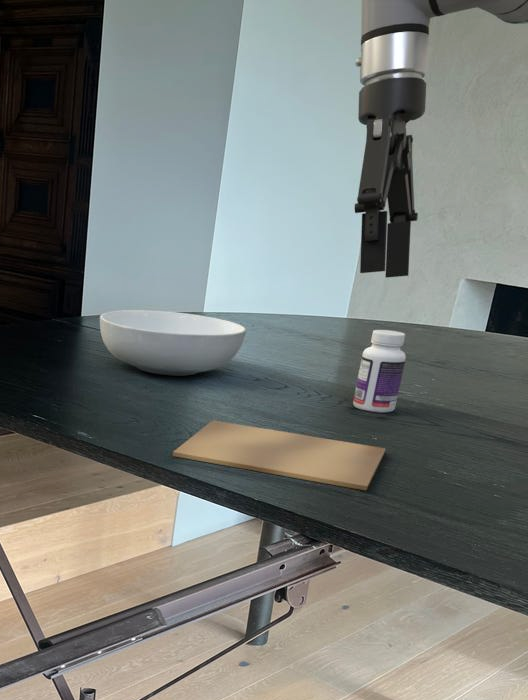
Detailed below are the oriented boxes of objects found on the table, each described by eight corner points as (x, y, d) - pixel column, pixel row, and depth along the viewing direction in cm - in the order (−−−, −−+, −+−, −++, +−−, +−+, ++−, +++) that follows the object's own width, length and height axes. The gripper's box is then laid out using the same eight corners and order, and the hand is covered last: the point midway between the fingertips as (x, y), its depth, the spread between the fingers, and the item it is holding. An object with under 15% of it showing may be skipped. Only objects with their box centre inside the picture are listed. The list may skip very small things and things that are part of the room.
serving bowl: (267, 384, 140) (275, 334, 136) (134, 387, 132) (139, 335, 129) (194, 354, 157) (200, 308, 153) (73, 355, 149) (76, 308, 146)
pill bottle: (399, 408, 131) (416, 333, 127) (388, 415, 127) (405, 337, 123) (358, 401, 134) (374, 326, 129) (346, 408, 130) (362, 331, 125)
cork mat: (385, 452, 111) (386, 448, 111) (366, 491, 98) (367, 486, 97) (211, 424, 117) (212, 419, 117) (172, 456, 104) (173, 451, 104)
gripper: (383, 107, 129) (377, 280, 134) (332, 66, 108) (327, 272, 114) (444, 97, 125) (435, 275, 131) (404, 52, 104) (395, 266, 110)
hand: (385, 274), depth 122 cm, fingers open, 13 cm apart
